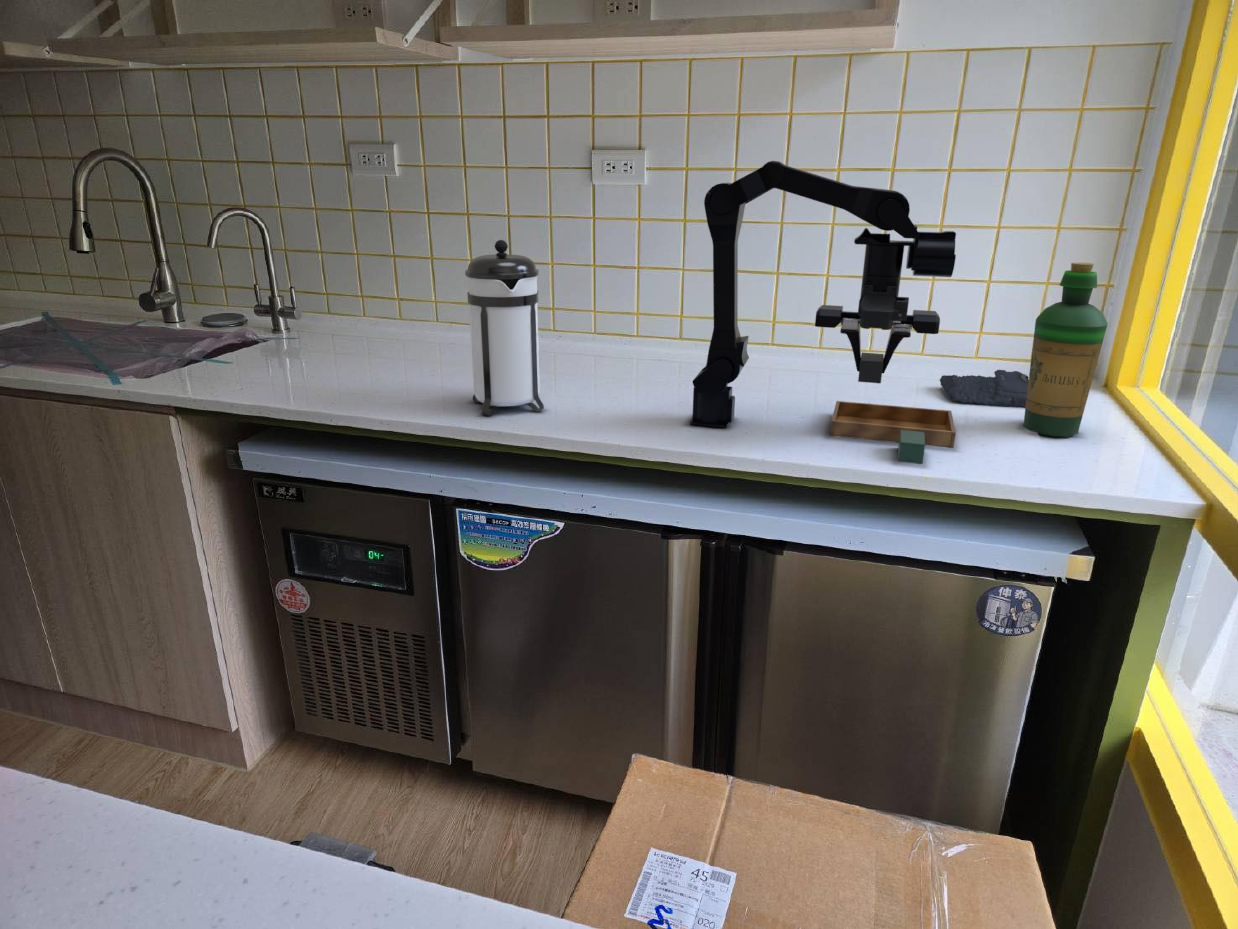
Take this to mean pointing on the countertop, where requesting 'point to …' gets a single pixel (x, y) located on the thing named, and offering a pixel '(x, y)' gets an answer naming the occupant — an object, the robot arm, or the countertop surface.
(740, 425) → the countertop surface
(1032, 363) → the bottle
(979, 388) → the dark slate chunk
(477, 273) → the coffee press
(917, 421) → the wooden tray
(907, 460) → the green block
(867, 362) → the dark grey block
